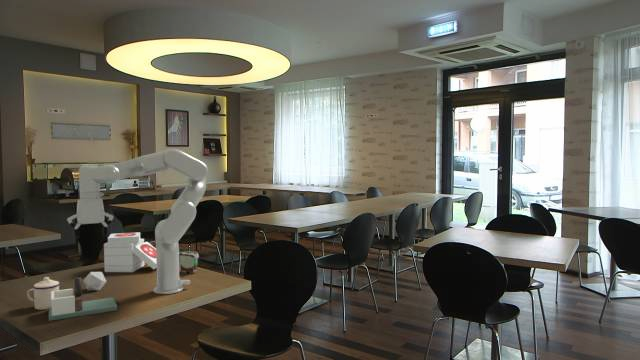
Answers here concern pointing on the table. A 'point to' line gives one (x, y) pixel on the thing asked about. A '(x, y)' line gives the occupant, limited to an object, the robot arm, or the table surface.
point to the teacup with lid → (43, 293)
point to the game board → (66, 305)
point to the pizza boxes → (128, 253)
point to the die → (94, 281)
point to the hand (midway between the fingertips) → (91, 237)
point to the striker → (78, 293)
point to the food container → (188, 261)
